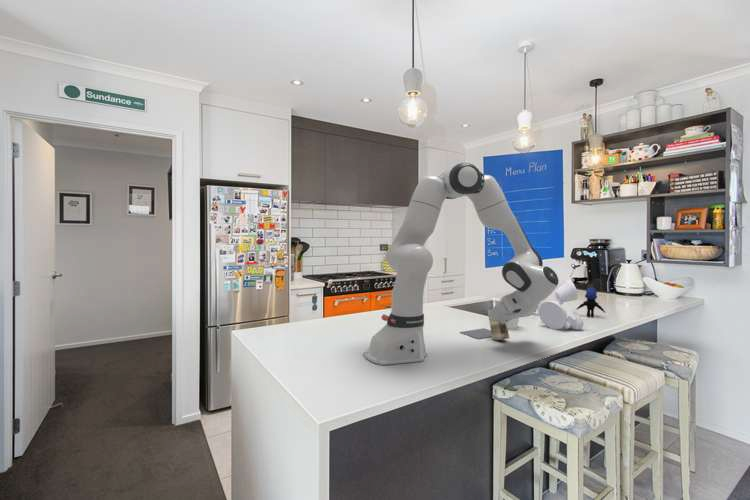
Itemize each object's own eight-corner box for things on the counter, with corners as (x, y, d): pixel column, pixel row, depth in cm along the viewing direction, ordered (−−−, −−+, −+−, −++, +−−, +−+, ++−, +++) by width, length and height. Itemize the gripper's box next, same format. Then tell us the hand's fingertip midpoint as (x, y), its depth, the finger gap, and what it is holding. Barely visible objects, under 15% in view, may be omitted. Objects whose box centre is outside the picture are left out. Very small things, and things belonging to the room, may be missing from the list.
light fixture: (607, 304, 162) (572, 275, 172) (589, 316, 153) (553, 285, 163) (575, 338, 178) (545, 310, 188) (556, 350, 170) (526, 320, 180)
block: (501, 339, 146) (495, 308, 148) (492, 340, 150) (487, 309, 152) (509, 338, 148) (504, 307, 151) (500, 338, 152) (495, 308, 155)
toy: (605, 317, 192) (606, 288, 191) (605, 319, 187) (606, 289, 186) (576, 314, 199) (577, 285, 198) (575, 316, 194) (576, 287, 193)
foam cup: (522, 331, 164) (523, 301, 163) (500, 329, 166) (500, 300, 165) (518, 325, 173) (519, 297, 173) (497, 324, 175) (498, 296, 175)
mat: (477, 339, 151) (477, 338, 151) (459, 332, 160) (459, 332, 160) (503, 335, 157) (503, 334, 157) (483, 328, 167) (483, 328, 167)
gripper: (538, 292, 146) (517, 312, 155) (499, 296, 136) (479, 317, 145) (547, 306, 142) (525, 325, 151) (509, 311, 132) (487, 331, 142)
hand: (502, 321), depth 148 cm, fingers closed
